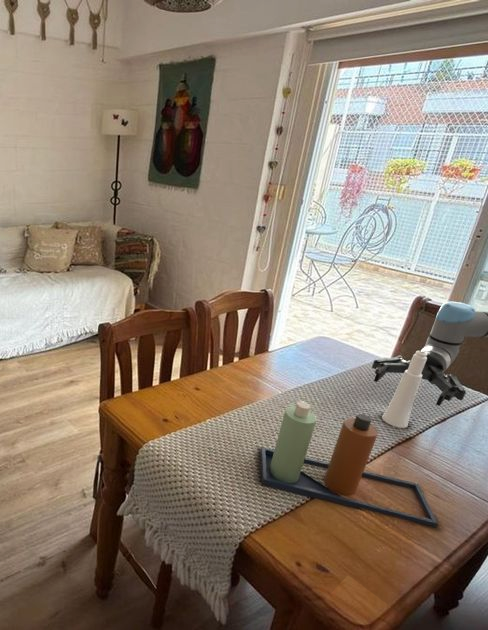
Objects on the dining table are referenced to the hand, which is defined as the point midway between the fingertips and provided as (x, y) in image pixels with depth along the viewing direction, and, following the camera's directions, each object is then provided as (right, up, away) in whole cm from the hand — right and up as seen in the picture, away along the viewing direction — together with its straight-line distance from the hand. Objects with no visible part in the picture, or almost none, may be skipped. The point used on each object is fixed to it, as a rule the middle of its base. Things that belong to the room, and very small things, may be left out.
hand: (406, 388), depth 112 cm
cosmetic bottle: (0, -11, +5) cm, 12 cm away
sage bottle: (-38, -17, -13) cm, 44 cm away
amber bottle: (-28, -19, -17) cm, 37 cm away
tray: (-28, -19, -16) cm, 38 cm away
